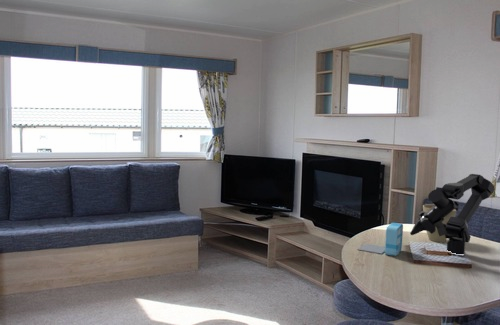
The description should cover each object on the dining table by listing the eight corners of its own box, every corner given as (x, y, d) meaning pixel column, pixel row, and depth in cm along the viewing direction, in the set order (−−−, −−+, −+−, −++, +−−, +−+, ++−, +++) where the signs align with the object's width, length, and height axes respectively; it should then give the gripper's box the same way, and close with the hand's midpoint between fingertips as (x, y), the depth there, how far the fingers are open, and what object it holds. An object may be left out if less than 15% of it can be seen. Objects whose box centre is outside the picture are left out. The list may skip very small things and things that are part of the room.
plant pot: (425, 243, 218) (427, 209, 216) (417, 235, 232) (419, 203, 231) (458, 245, 216) (461, 211, 214) (449, 237, 231) (451, 204, 229)
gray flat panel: (388, 248, 208) (388, 247, 208) (381, 254, 199) (381, 253, 199) (365, 244, 214) (365, 243, 214) (357, 249, 204) (357, 249, 204)
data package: (395, 257, 196) (397, 228, 194) (384, 255, 198) (386, 227, 196) (401, 250, 206) (403, 223, 205) (391, 248, 208) (392, 221, 207)
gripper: (457, 230, 185) (426, 255, 189) (451, 220, 202) (423, 243, 207) (437, 209, 186) (406, 234, 190) (433, 201, 204) (405, 224, 208)
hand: (411, 234), depth 199 cm, fingers closed
